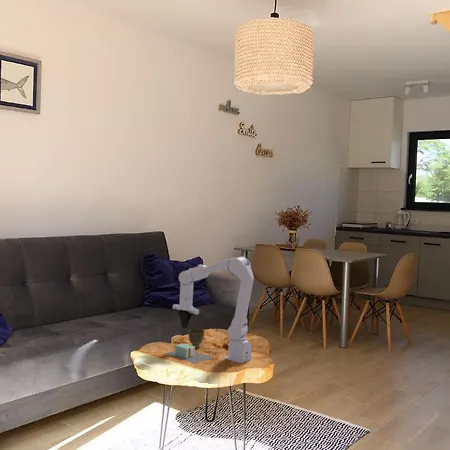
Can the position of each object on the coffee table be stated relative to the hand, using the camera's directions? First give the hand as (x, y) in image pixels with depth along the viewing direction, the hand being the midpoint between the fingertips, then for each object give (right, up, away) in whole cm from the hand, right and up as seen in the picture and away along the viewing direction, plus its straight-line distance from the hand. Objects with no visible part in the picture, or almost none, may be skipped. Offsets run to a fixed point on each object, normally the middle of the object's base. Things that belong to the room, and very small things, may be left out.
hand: (184, 327), depth 243 cm
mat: (+2, -11, -8) cm, 14 cm away
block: (+3, -9, -11) cm, 14 cm away
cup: (+5, -11, +7) cm, 13 cm away
